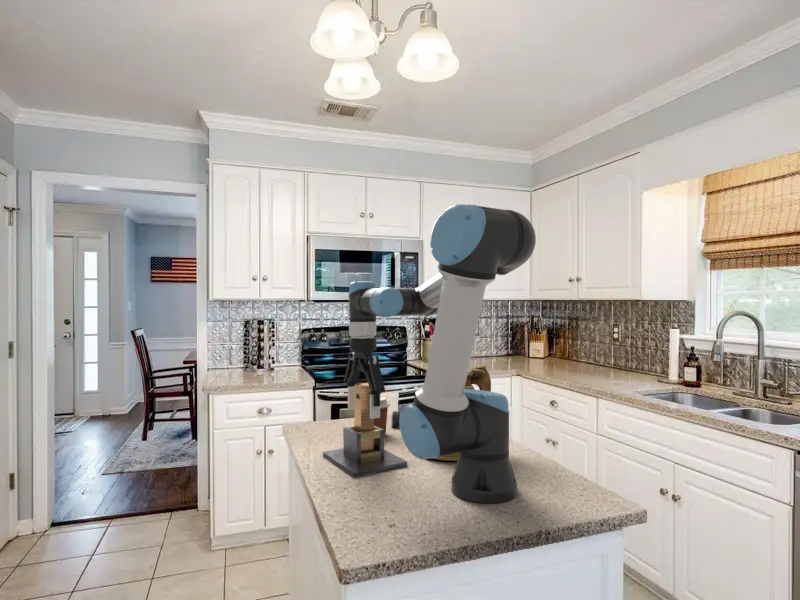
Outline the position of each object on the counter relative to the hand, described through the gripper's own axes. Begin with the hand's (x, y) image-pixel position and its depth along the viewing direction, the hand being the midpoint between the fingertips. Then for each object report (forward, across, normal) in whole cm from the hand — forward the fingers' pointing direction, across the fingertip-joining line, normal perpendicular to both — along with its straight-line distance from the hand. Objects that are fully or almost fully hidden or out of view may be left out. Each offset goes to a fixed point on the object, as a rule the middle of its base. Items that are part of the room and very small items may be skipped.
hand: (363, 413), depth 134 cm
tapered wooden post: (+12, 0, 0) cm, 12 cm away
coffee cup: (+13, +22, -16) cm, 30 cm away
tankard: (+14, -7, -27) cm, 31 cm away
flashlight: (+14, +25, -32) cm, 43 cm away
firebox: (+13, 0, 0) cm, 13 cm away
